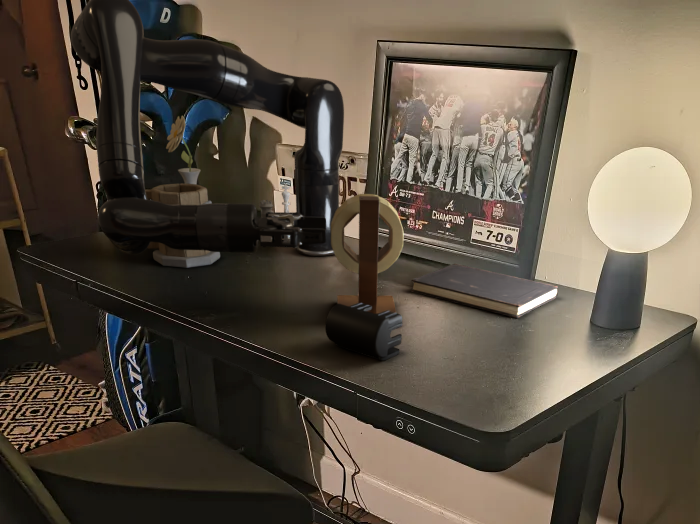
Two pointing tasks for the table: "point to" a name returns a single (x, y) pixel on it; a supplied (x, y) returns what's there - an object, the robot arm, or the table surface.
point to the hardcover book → (485, 290)
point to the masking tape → (385, 254)
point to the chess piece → (285, 198)
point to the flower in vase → (175, 138)
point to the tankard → (181, 195)
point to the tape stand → (368, 260)
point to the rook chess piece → (265, 207)
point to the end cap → (364, 330)
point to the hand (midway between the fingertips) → (326, 229)
